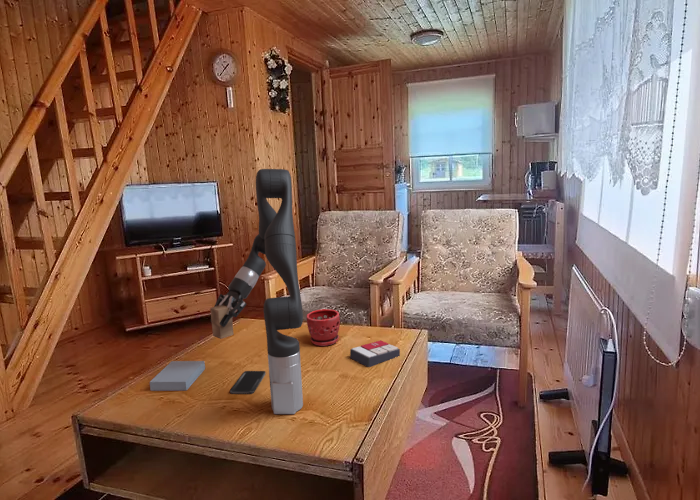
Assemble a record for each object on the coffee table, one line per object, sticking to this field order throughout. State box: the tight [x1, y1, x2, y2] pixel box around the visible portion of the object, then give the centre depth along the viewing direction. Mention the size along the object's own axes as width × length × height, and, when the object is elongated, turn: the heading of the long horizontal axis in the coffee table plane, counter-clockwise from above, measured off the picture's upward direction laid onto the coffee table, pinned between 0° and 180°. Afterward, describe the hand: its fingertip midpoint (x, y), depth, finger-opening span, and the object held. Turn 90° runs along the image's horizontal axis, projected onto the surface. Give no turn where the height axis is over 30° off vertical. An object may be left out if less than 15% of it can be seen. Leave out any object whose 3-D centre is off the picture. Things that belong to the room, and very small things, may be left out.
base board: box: [149, 360, 206, 392], centre depth 154 cm, size 16×12×3 cm
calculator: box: [349, 340, 401, 368], centre depth 167 cm, size 11×4×15 cm
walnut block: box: [209, 305, 234, 340], centre depth 156 cm, size 5×5×10 cm
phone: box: [229, 370, 267, 395], centre depth 150 cm, size 8×1×15 cm
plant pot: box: [306, 308, 341, 347], centre depth 182 cm, size 13×13×12 cm
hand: (217, 323), depth 155 cm, fingers closed on walnut block, 5 cm apart
